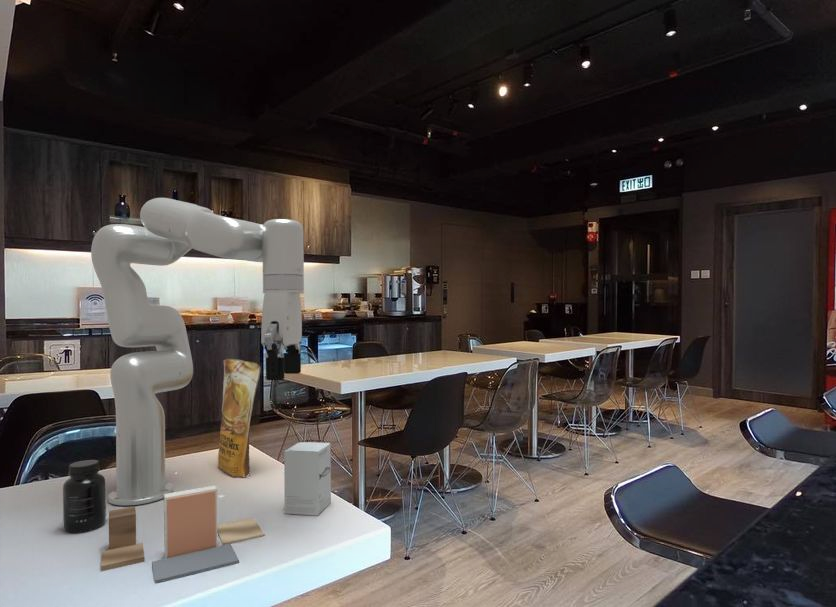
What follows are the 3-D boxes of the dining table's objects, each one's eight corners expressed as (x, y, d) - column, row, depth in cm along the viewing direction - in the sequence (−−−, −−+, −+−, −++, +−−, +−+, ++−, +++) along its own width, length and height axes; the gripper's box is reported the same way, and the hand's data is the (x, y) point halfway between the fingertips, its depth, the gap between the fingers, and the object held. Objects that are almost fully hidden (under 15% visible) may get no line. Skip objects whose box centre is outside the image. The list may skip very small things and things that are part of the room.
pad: (214, 526, 98) (214, 525, 98) (252, 518, 101) (252, 517, 101) (223, 544, 90) (223, 543, 90) (264, 535, 94) (264, 533, 94)
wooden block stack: (102, 547, 90) (102, 512, 90) (141, 539, 93) (141, 505, 93) (101, 571, 81) (100, 532, 82) (144, 561, 84) (144, 524, 85)
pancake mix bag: (236, 459, 143) (235, 357, 144) (264, 475, 128) (263, 361, 129) (211, 464, 139) (210, 358, 139) (236, 481, 124) (235, 363, 125)
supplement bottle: (67, 523, 101) (67, 460, 101) (108, 517, 103) (108, 456, 104) (59, 537, 94) (58, 470, 95) (102, 530, 97) (102, 465, 97)
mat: (152, 564, 83) (152, 561, 83) (230, 546, 90) (230, 543, 90) (155, 583, 77) (155, 580, 77) (239, 562, 83) (239, 560, 83)
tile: (164, 554, 87) (164, 494, 87) (215, 543, 91) (215, 485, 91) (165, 560, 85) (165, 498, 85) (217, 548, 89) (217, 489, 89)
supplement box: (318, 516, 102) (317, 451, 102) (283, 514, 104) (282, 450, 104) (332, 502, 109) (331, 442, 110) (299, 500, 111) (298, 441, 111)
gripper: (279, 288, 108) (280, 371, 107) (245, 283, 90) (246, 383, 90) (315, 287, 107) (316, 371, 107) (288, 283, 90) (289, 382, 90)
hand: (284, 376), depth 98 cm, fingers open, 9 cm apart
